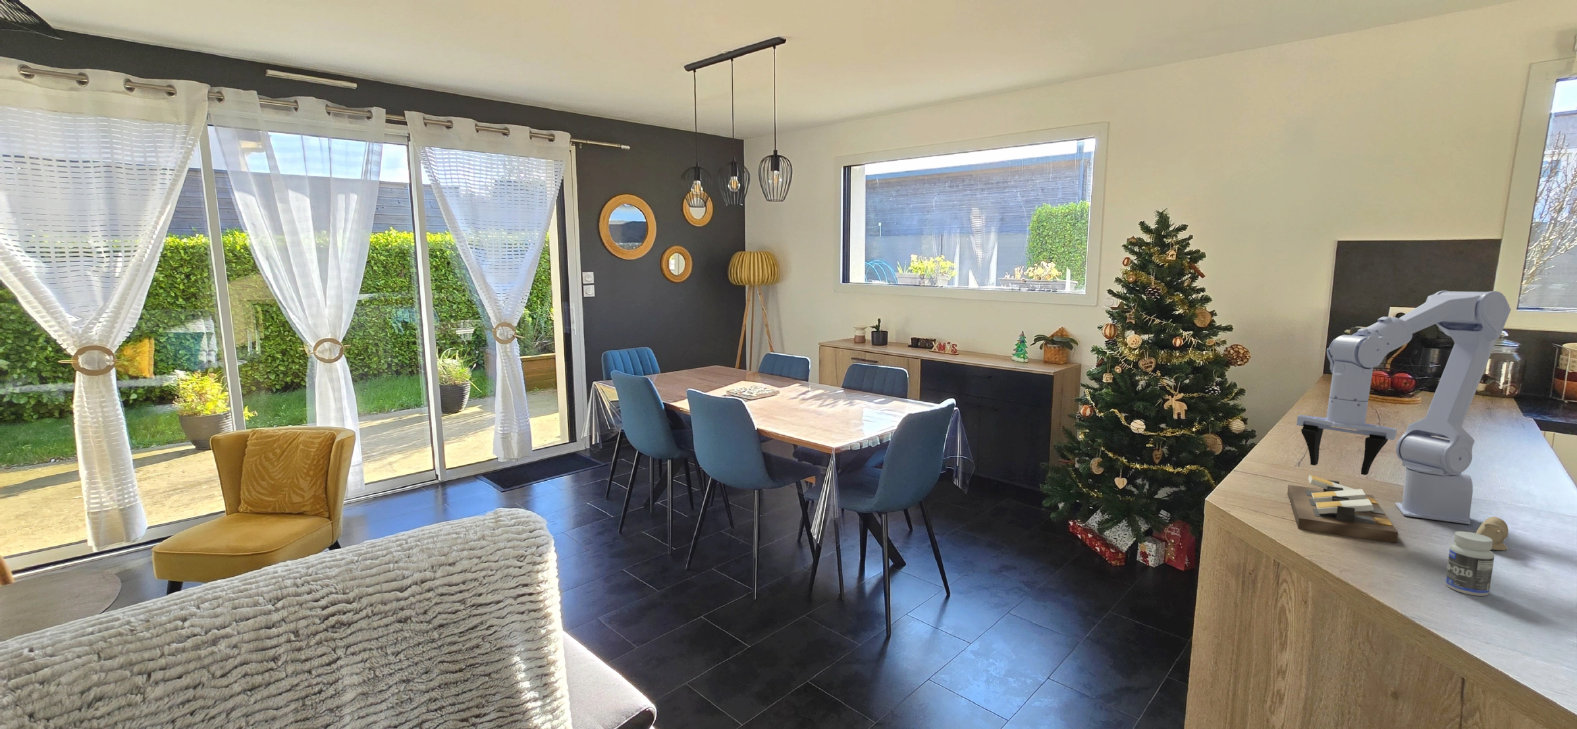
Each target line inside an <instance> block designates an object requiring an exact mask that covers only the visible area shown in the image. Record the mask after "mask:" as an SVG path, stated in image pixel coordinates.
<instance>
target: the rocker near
mask: <svg viewBox="0 0 1577 729" xmlns="http://www.w3.org/2000/svg"><path fill="white" fill-rule="evenodd" d="M1338 506H1343V507H1351V508H1355V512H1356V511H1371V510H1374V509H1373V505H1372V504H1371V502H1370V500H1369V499H1360V500H1346V501H1332V502H1318V503H1316V507H1317V510H1318V512H1319V514H1325V513H1337V507H1338Z"/></svg>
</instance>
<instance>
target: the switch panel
mask: <svg viewBox="0 0 1577 729" xmlns="http://www.w3.org/2000/svg"><path fill="white" fill-rule="evenodd" d="M1327 480H1328V481H1331V482H1334V483H1337V484H1340V481H1338V480H1330V479H1327ZM1342 490H1343V488H1340V487H1331V486H1328V487H1327V489H1324V488H1319V487H1317V488H1316V487H1308V486H1300V485H1293V484H1288V485H1287V494H1286V495H1287V496H1288V500H1290V501H1289V503H1291V504H1290V506H1291V510H1292V513H1293V517H1294V520H1295V523H1296V527H1297V529H1301V530H1308V531H1314V532H1320V533H1327V534H1335V535H1341V536H1347V537H1348V536H1349V537H1353V538H1361V539H1367V540H1373V541H1380V542H1386V543H1393V544H1397V542H1398V536H1399V535H1398V534H1399V533H1398V530H1397V529H1396V527H1395V526H1394V525H1393V523H1392V521H1391V520H1390V518H1389V517H1388V516H1387V514H1386V513H1385V512H1384V509H1382V507H1381V506H1380V504H1379V503H1378V502H1377V500H1376V498H1375V497H1374V495H1373V494H1367V493H1365V494H1366V498H1367V499H1369V500H1370V502H1371V504H1372V505H1373V509H1374V510H1371V511H1356V512H1355V508H1351V507H1343V506H1338V507H1337V513H1325V514H1319V512H1318V510H1317V507H1316V503H1314V500H1313V498H1312V494H1311V493H1317V492H1330V491H1342ZM1346 500H1349V498H1348V497H1341V496H1333V495H1332V501H1346Z"/></svg>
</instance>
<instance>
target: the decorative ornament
mask: <svg viewBox="0 0 1577 729" xmlns="http://www.w3.org/2000/svg"><path fill="white" fill-rule="evenodd" d="M1475 533H1477V534H1480V535H1484V536H1487V537H1489V538H1491V539H1492V540H1493V543H1492V549H1491V550H1496V551H1507V550H1508V548H1507V547H1508V546H1507V545H1506V544H1504V543H1503V542H1504V541H1505V540H1506V539H1507V538H1508V536H1509V535H1508V534H1509V527H1508V524H1507V523H1506V521H1505V520H1504V519H1503V518H1500V517H1497V516H1491V517H1488V518H1486V519H1484V521H1483V522H1482V523H1481V524H1480V526H1479V527H1478V528H1477V530H1476V532H1475Z"/></svg>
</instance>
